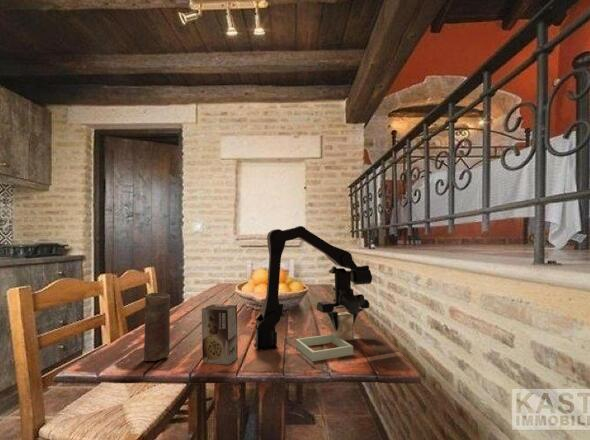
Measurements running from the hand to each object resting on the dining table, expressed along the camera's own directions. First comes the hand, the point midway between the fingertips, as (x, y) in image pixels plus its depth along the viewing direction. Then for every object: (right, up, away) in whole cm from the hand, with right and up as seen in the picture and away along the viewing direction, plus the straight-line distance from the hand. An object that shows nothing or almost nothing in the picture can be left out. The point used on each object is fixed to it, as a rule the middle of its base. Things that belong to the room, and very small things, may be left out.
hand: (343, 329), depth 120 cm
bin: (-9, -3, -14) cm, 17 cm away
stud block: (0, -4, 0) cm, 4 cm away
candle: (-60, -4, -16) cm, 63 cm away
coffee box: (-40, -4, -18) cm, 44 cm away
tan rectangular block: (0, -3, 0) cm, 2 cm away
